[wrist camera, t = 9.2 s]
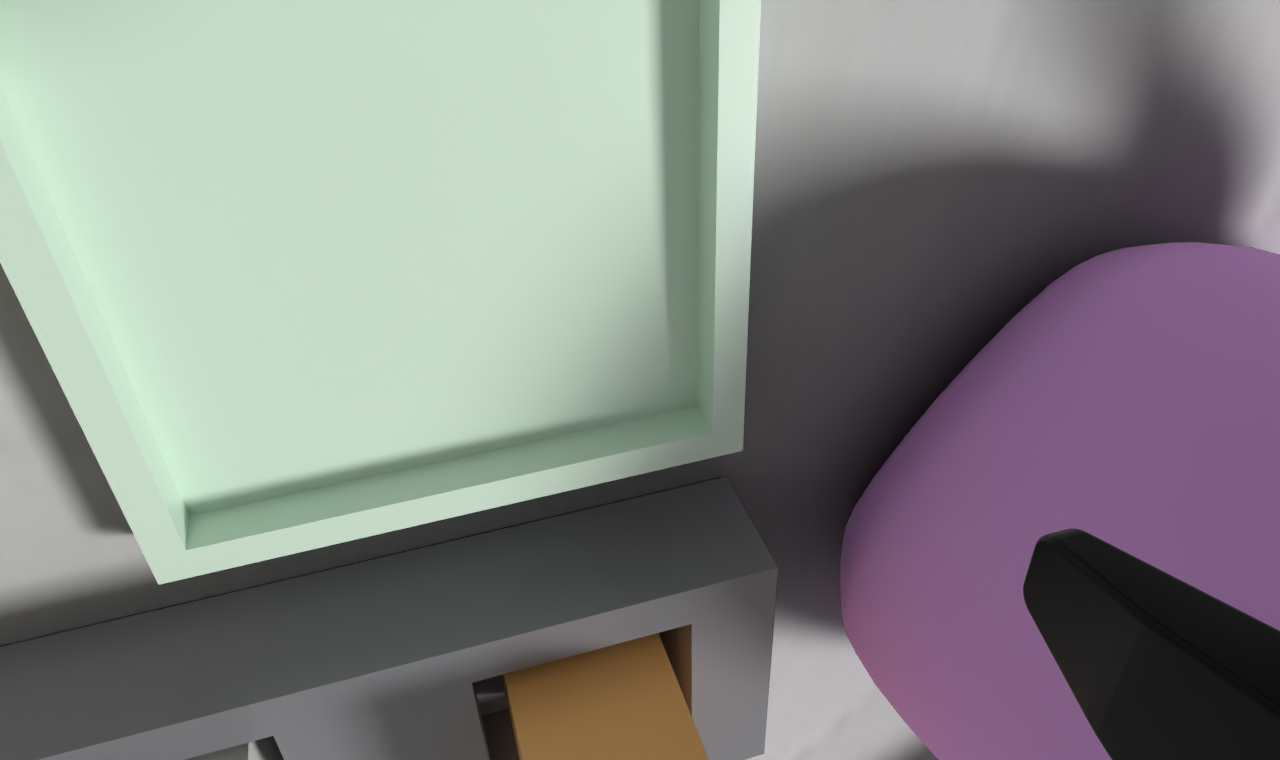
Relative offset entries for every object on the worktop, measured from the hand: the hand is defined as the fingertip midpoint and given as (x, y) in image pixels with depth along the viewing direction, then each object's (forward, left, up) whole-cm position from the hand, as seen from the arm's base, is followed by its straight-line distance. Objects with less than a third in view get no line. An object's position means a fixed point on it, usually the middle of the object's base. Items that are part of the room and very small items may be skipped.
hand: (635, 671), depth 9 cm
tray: (+1, +1, -12) cm, 13 cm away
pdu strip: (+4, +14, -12) cm, 19 cm away
